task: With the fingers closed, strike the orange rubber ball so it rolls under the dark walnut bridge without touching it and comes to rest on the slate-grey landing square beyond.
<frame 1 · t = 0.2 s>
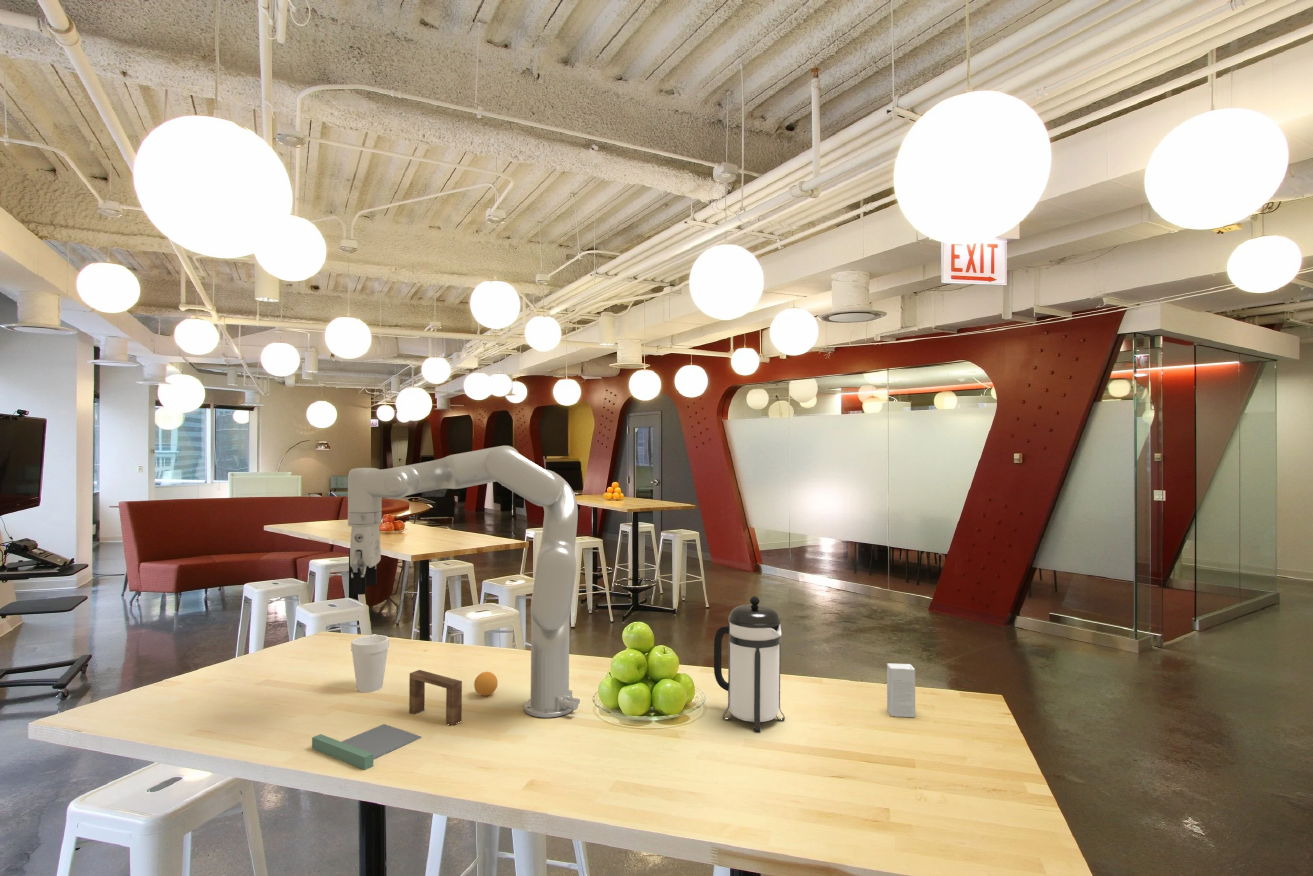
hand: (364, 589, 167), 31 cm above the table, tool pointing down, fingers open, 9 cm apart
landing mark: (378, 741, 154), on the table
foam cup: (369, 688, 187), on the table
skincare box: (900, 714, 173), on the table
bridge: (435, 717, 168), on the table
stopper wall: (341, 757, 147), on the table
coffee press: (748, 719, 169), on the table
ball: (485, 683, 183), on the table
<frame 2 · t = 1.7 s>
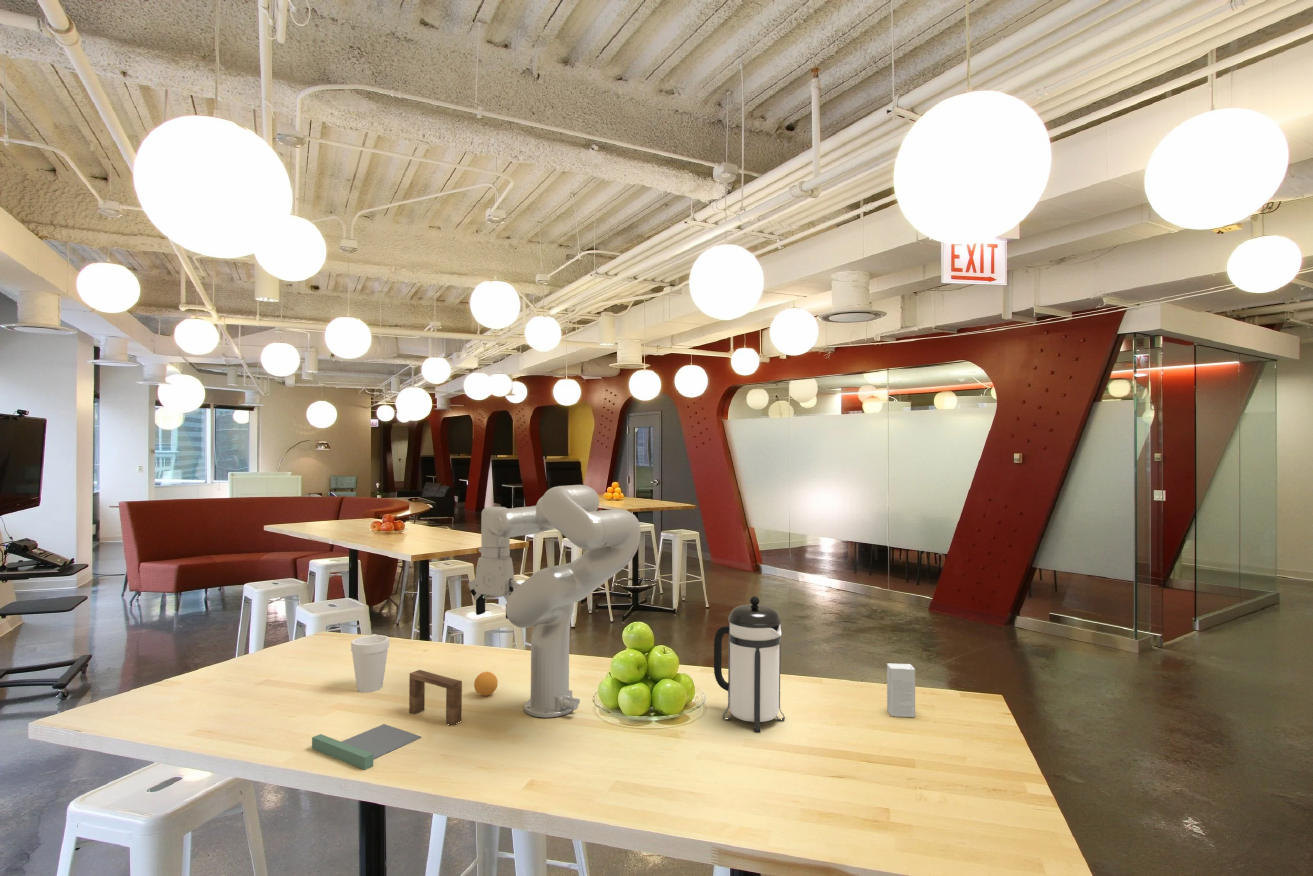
hand: (495, 615, 188), 20 cm above the table, tool pointing down, fingers open, 9 cm apart
nothing on the table moved.
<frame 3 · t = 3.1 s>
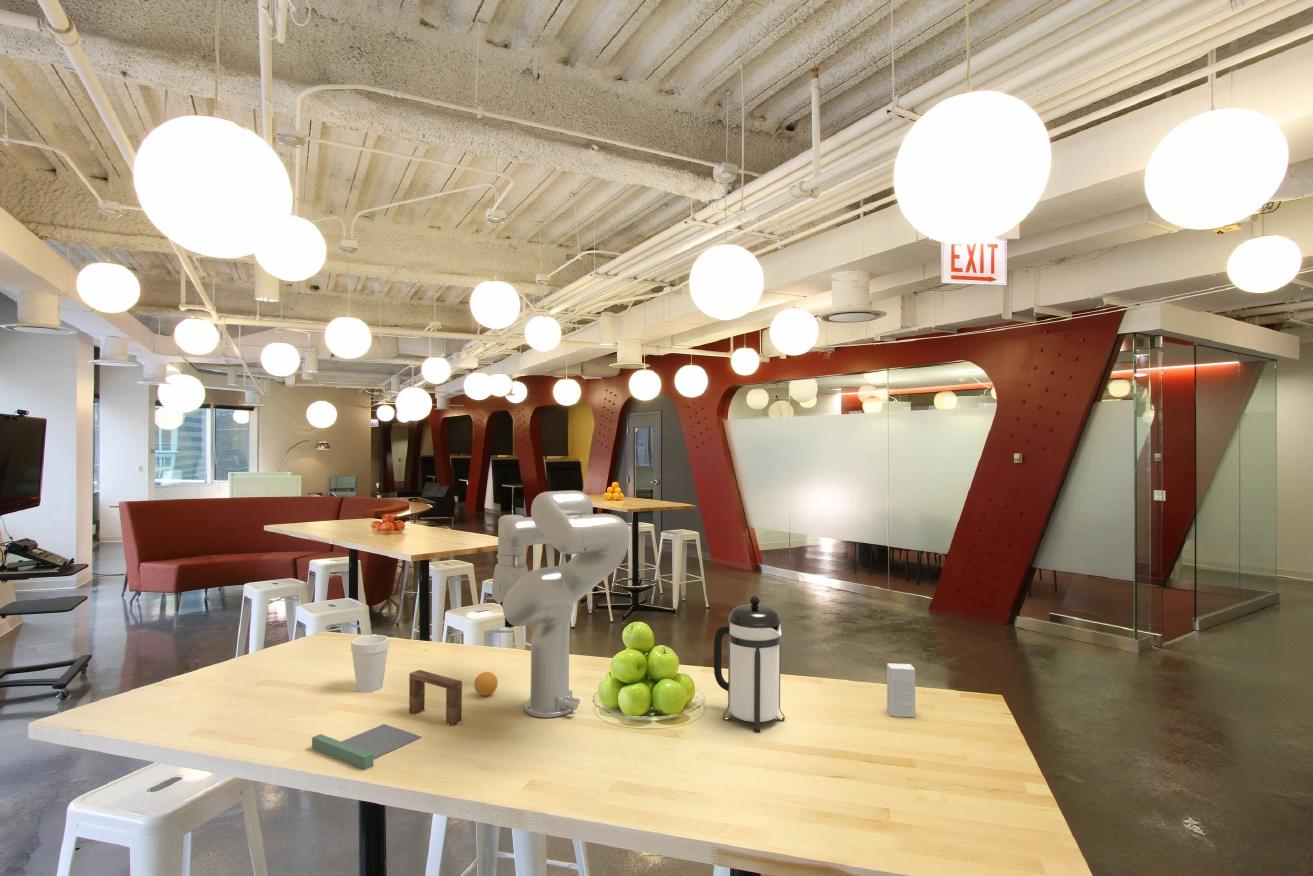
hand: (510, 626, 191), 16 cm above the table, tool pointing down, fingers closed
nothing on the table moved.
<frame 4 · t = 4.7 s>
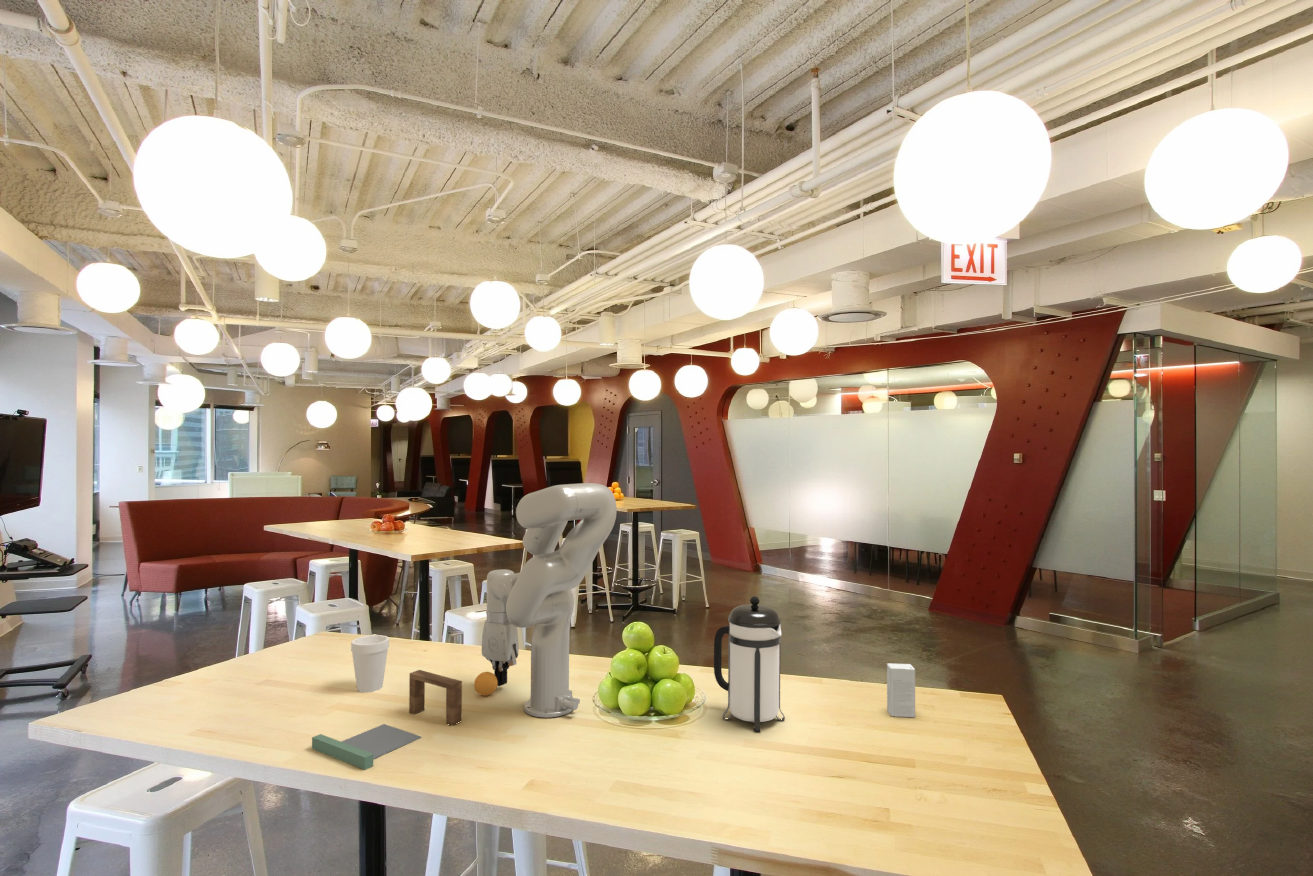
hand: (500, 684, 187), 1 cm above the table, tool pointing down, fingers closed
nothing on the table moved.
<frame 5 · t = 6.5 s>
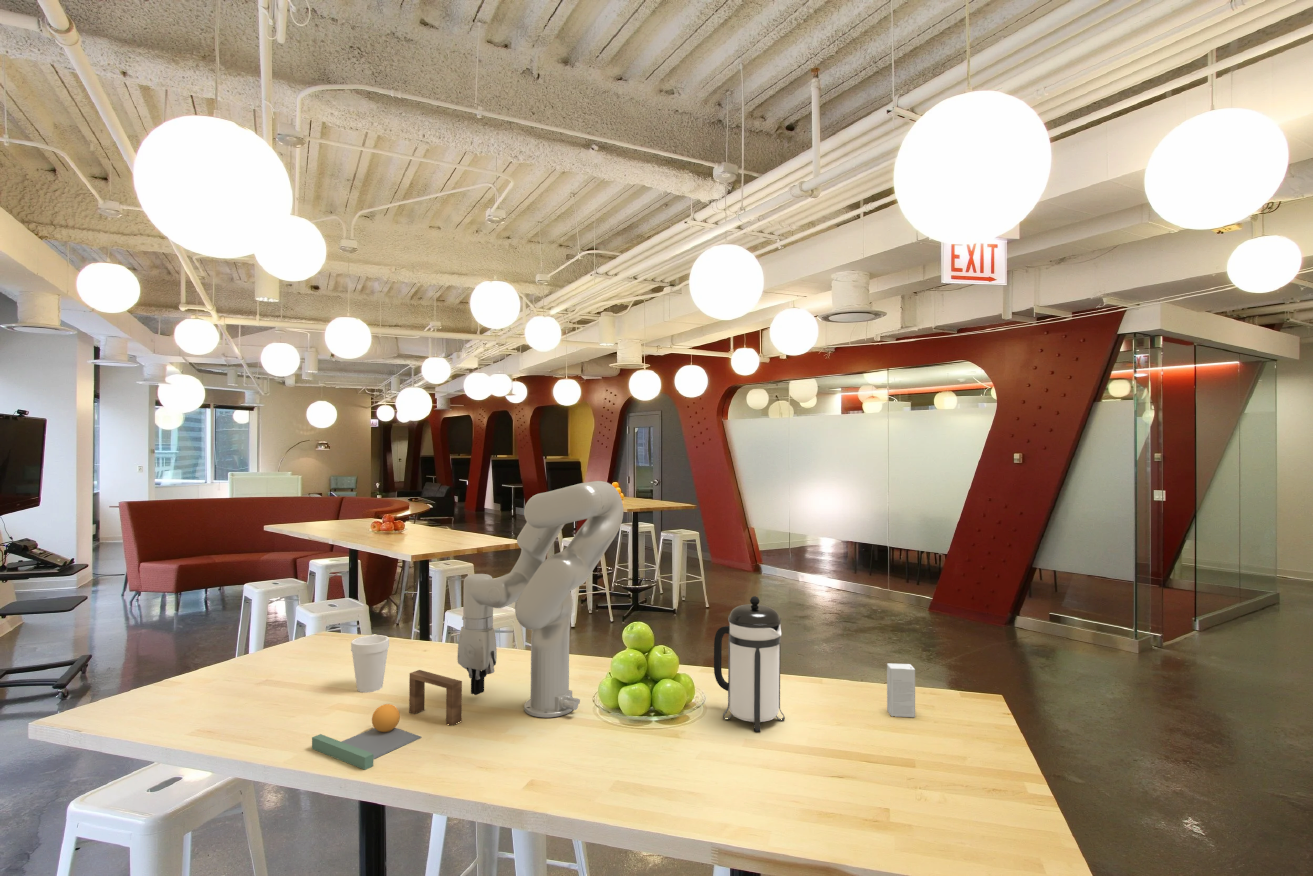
hand: (477, 692, 180), 2 cm above the table, tool pointing down, fingers closed
ball: (385, 718, 160), on the table
everything else where it was.
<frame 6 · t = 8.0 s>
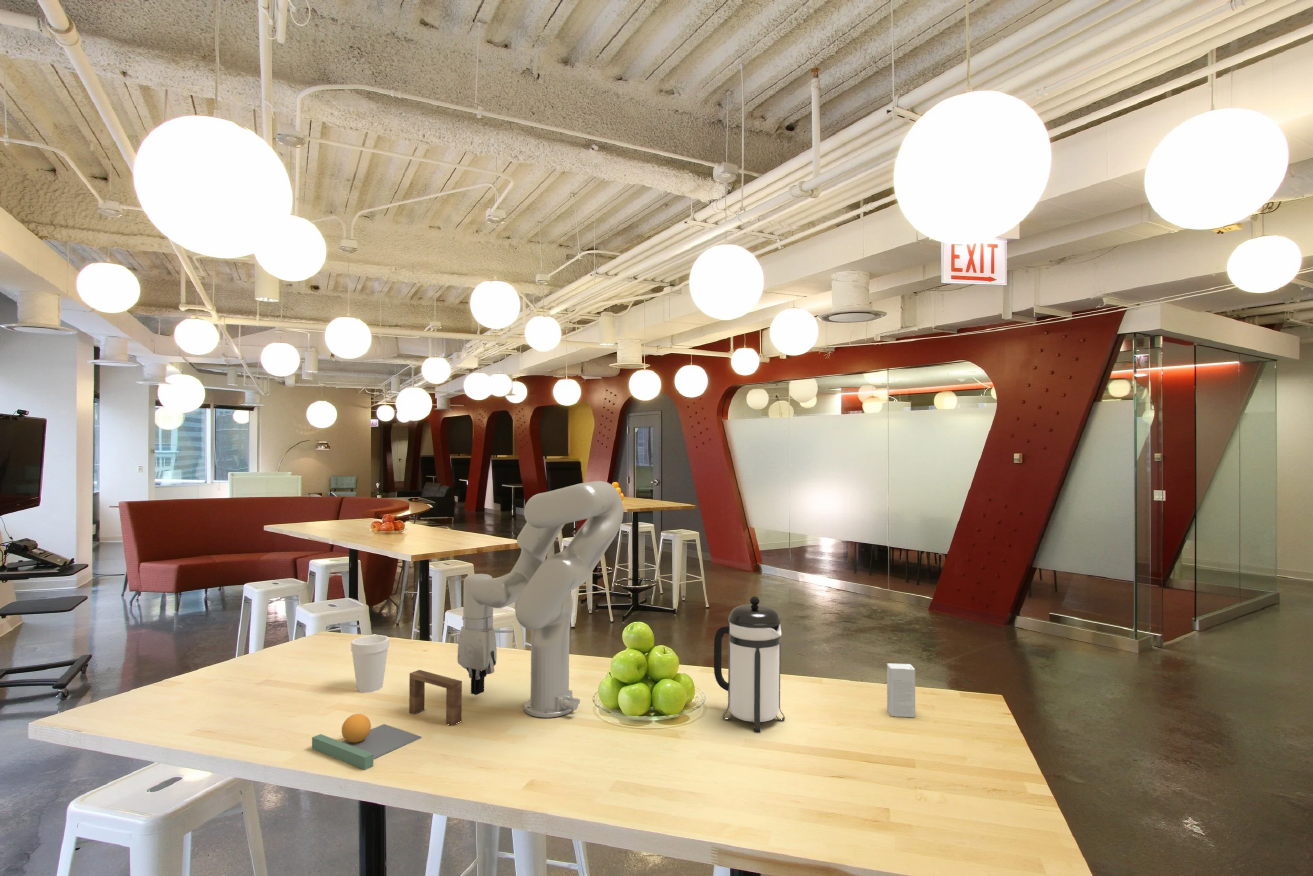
hand: (477, 692, 180), 2 cm above the table, tool pointing down, fingers closed
ball: (356, 728, 154), on the table
everything else where it was.
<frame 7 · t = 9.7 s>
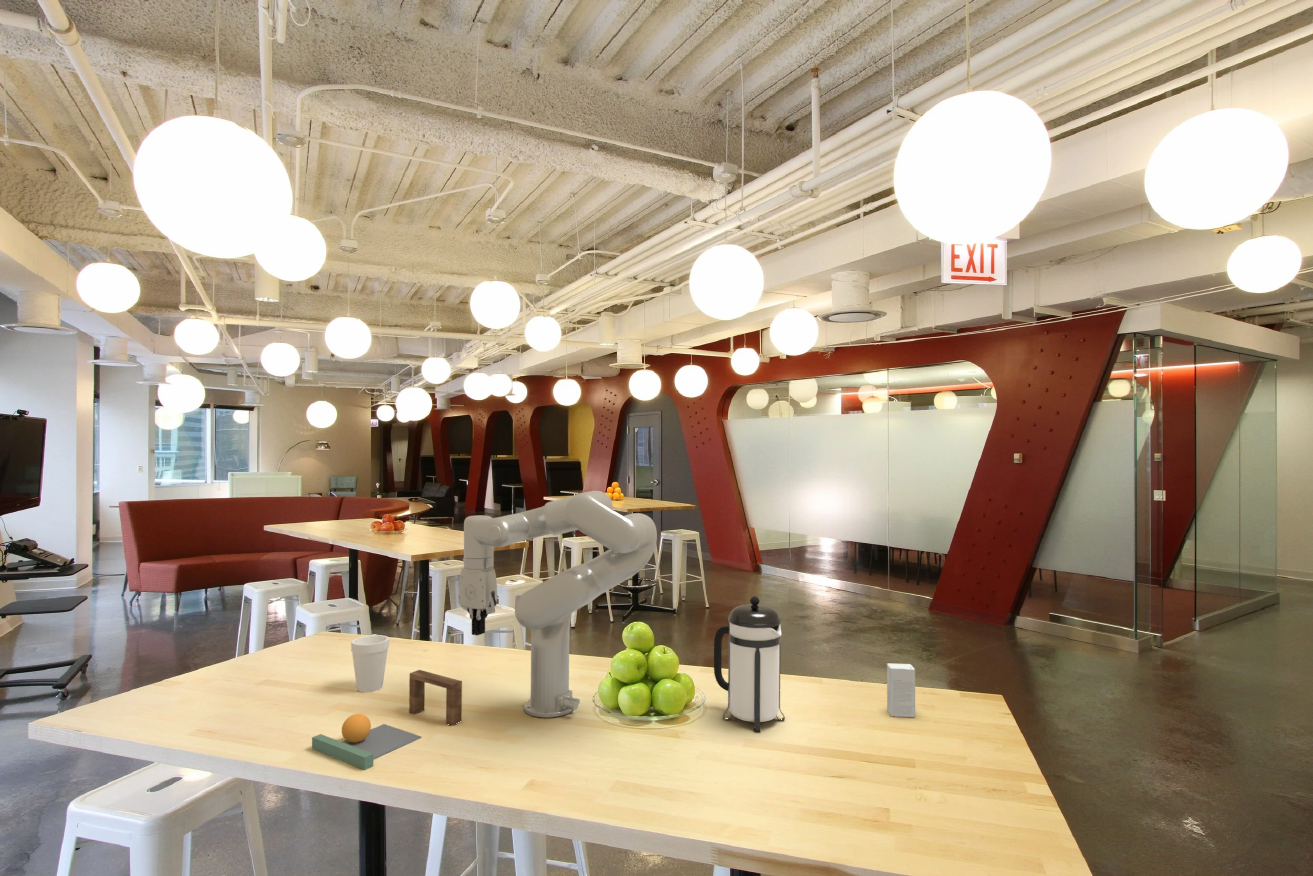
hand: (478, 633, 180), 17 cm above the table, tool pointing down, fingers closed
nothing on the table moved.
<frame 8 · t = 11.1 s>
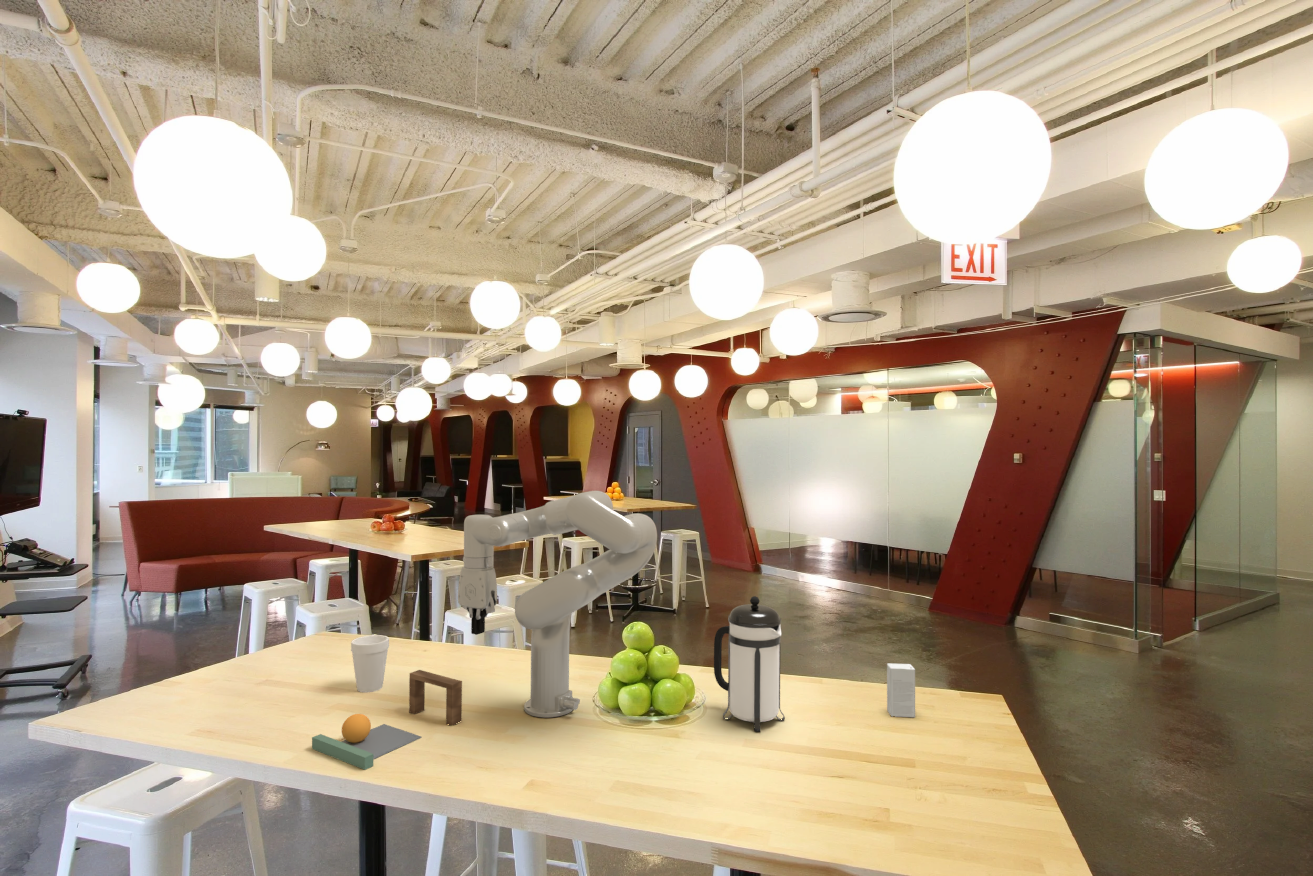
hand: (478, 633, 180), 17 cm above the table, tool pointing down, fingers closed
nothing on the table moved.
at the end: ball 4.9 cm from the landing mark (horizontally); ball never touched bridge; ball at rest at the end (0.0 cm/s) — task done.
